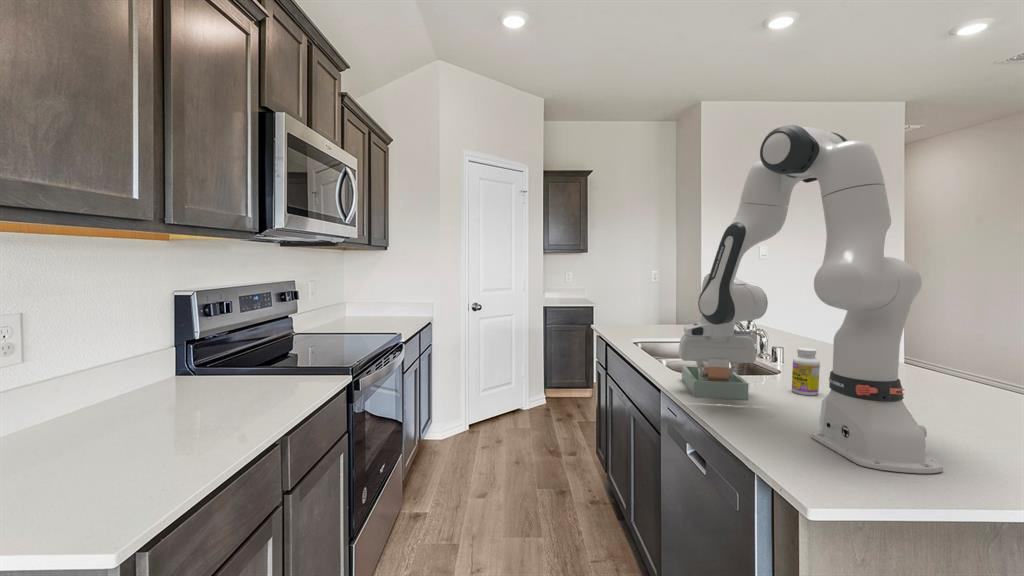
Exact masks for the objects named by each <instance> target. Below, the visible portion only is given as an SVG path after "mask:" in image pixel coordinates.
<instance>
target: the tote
mask: <svg viewBox="0 0 1024 576" xmlns="http://www.w3.org/2000/svg"><path fill="white" fill-rule="evenodd" d="M730 368H731V367H729V370H730ZM681 380H682V382H683V384H684V385H685V386H686V389H688V392H689V393H690V394H691V396H692V397H693V398H703V399H705V398H706V399H721V400H724V399H725V400H738V401H739V400H742V401H749V383H748V382H747V381H746V380H744V379H743V378H742V377H741V376H740V375H739V374H737V372H735V371H734V372H733V378H729V382H718V381H698V366H697V365H695V366H694V365H682V366H681Z"/></svg>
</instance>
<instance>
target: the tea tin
mask: <svg viewBox="0 0 1024 576" xmlns="http://www.w3.org/2000/svg"><path fill="white" fill-rule="evenodd" d="M729 368H730V362H729V359H714V358H708V361H707V362H706V361H704V370H706V377H704V381H718V382H729Z"/></svg>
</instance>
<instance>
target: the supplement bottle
mask: <svg viewBox="0 0 1024 576" xmlns="http://www.w3.org/2000/svg"><path fill="white" fill-rule="evenodd" d="M796 353H797V355H796V356H795V357H794V358H793V359H792V375H791V376H792V377H791V378H792V379H791V390H792V392H794V393H795V394H798V395H802V396H803V395H804V396H817V395H818V394H819V390H820V388H819V387H820V366H821V365H820V364H821V362H820V360H819V359H818V358H816V355H817V349H815V348H810V347H797V349H796Z"/></svg>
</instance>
